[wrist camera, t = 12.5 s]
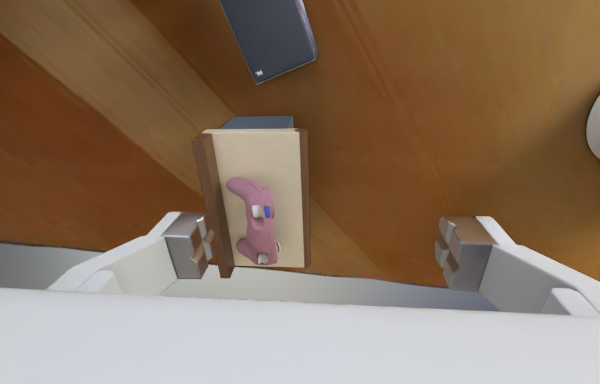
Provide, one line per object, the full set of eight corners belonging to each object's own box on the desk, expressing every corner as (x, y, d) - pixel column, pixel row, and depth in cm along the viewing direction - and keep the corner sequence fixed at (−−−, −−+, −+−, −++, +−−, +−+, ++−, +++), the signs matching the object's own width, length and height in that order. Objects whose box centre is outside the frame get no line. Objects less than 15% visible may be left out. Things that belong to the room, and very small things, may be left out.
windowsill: (311, 111, 39) (305, 139, 28) (313, 226, 47) (309, 281, 36) (227, 113, 40) (191, 140, 29) (244, 225, 48) (220, 278, 37)
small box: (322, 55, 35) (319, 61, 26) (273, 76, 37) (254, 89, 28) (288, -48, 31) (270, -85, 22) (233, -19, 33) (196, -42, 23)
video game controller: (269, 238, 39) (287, 272, 33) (234, 247, 37) (247, 284, 31) (263, 168, 34) (283, 194, 28) (223, 175, 33) (235, 203, 27)
